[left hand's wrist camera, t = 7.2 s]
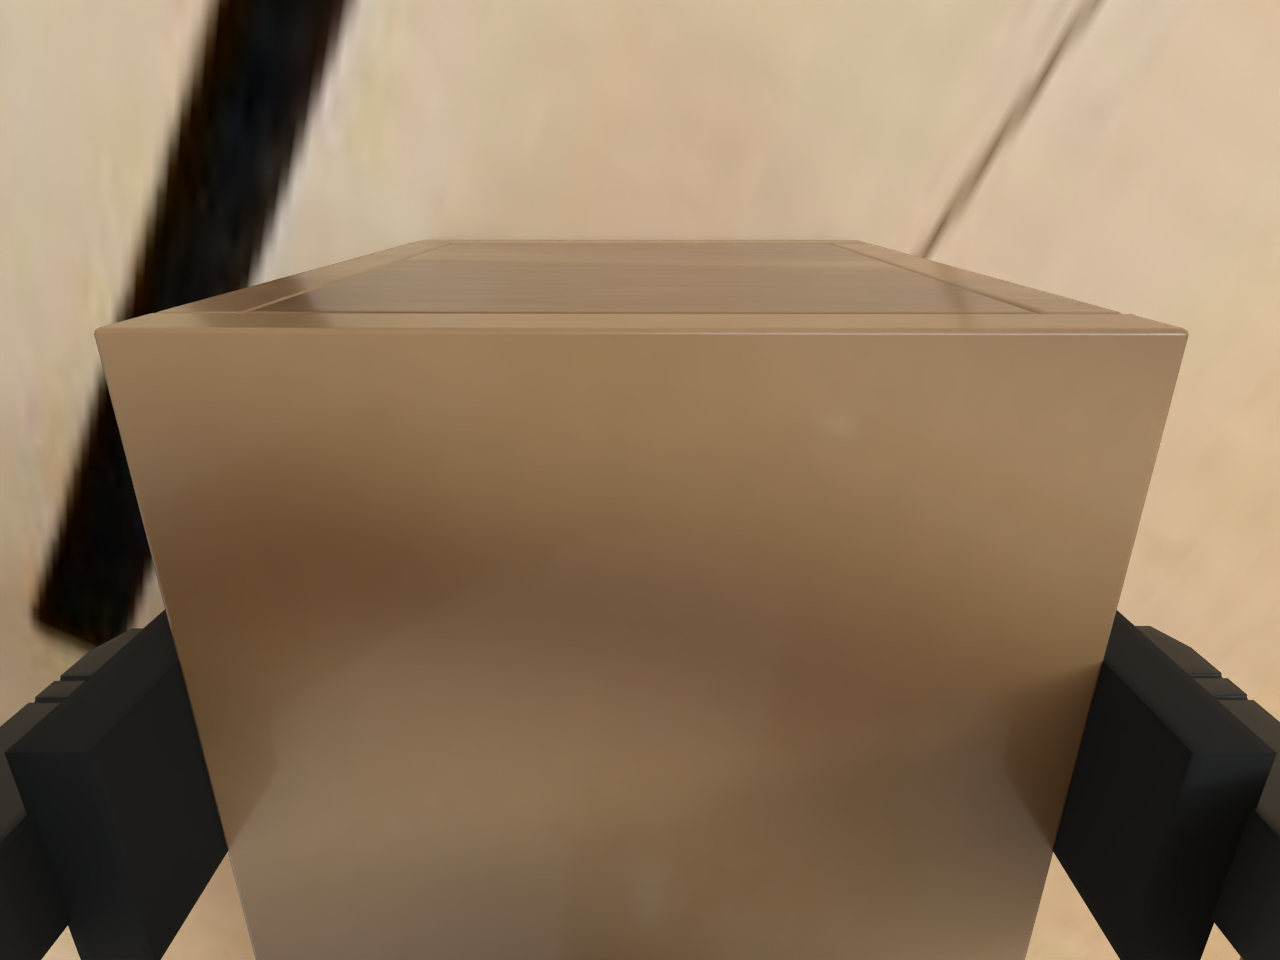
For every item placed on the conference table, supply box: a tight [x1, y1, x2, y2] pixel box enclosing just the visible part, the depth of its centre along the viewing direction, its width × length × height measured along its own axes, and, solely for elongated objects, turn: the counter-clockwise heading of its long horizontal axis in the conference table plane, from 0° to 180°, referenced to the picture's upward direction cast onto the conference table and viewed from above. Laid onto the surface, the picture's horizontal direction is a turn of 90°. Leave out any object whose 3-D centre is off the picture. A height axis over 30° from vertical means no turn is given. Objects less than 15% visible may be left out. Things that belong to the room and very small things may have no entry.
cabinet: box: [94, 240, 1188, 960], centre depth 16 cm, size 20×10×11 cm, turn 0°
